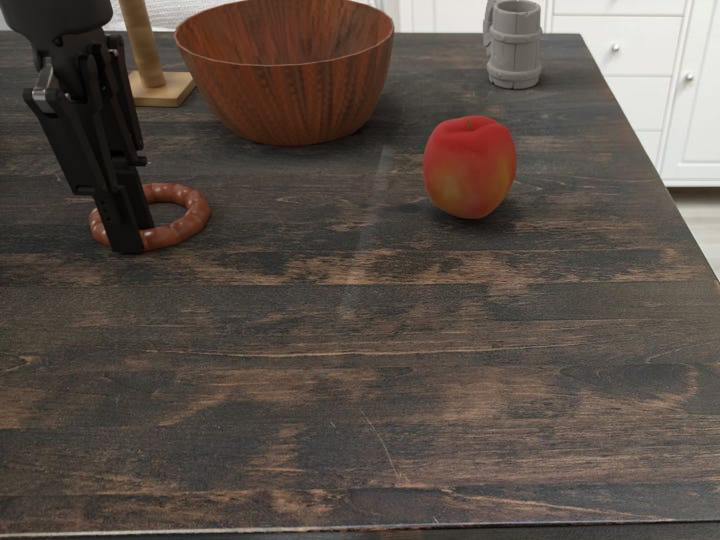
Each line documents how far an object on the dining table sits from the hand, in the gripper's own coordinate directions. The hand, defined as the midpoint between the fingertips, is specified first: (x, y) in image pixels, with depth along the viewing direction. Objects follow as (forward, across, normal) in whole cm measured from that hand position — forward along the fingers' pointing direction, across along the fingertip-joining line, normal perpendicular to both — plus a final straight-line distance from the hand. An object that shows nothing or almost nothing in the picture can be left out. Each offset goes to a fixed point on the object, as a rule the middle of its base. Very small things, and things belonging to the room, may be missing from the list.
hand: (134, 241), depth 70 cm
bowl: (+2, +30, -9) cm, 32 cm away
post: (+1, +38, +12) cm, 40 cm away
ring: (0, +4, 0) cm, 4 cm away
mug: (+1, +48, -35) cm, 60 cm away
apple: (+1, +9, -31) cm, 33 cm away
